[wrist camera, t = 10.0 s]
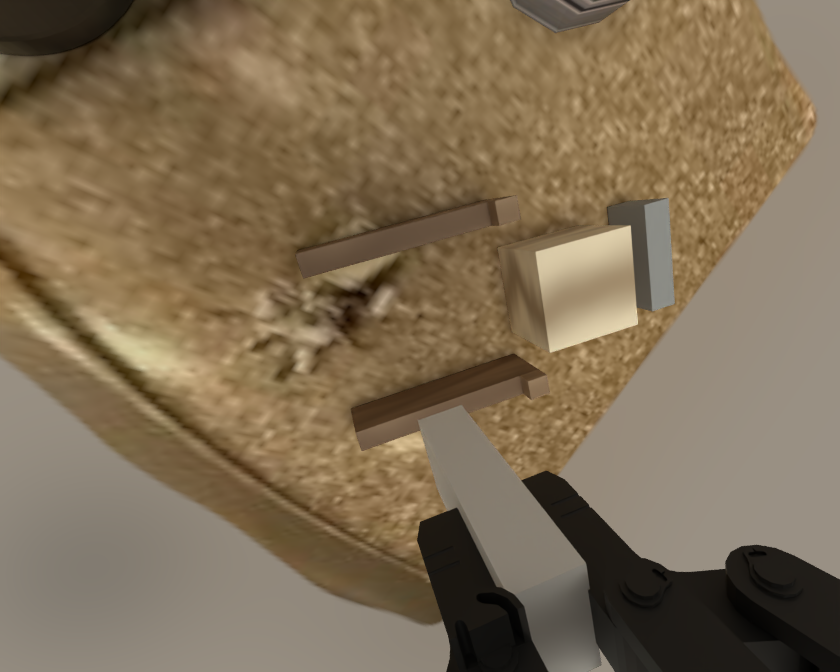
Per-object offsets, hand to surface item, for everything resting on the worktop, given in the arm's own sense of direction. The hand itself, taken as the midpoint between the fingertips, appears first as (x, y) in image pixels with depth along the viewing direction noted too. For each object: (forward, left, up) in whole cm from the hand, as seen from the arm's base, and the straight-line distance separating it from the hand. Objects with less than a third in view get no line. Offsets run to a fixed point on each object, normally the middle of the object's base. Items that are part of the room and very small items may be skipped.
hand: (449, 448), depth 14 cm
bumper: (+1, +21, -19) cm, 28 cm away
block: (+1, +14, -19) cm, 24 cm away
